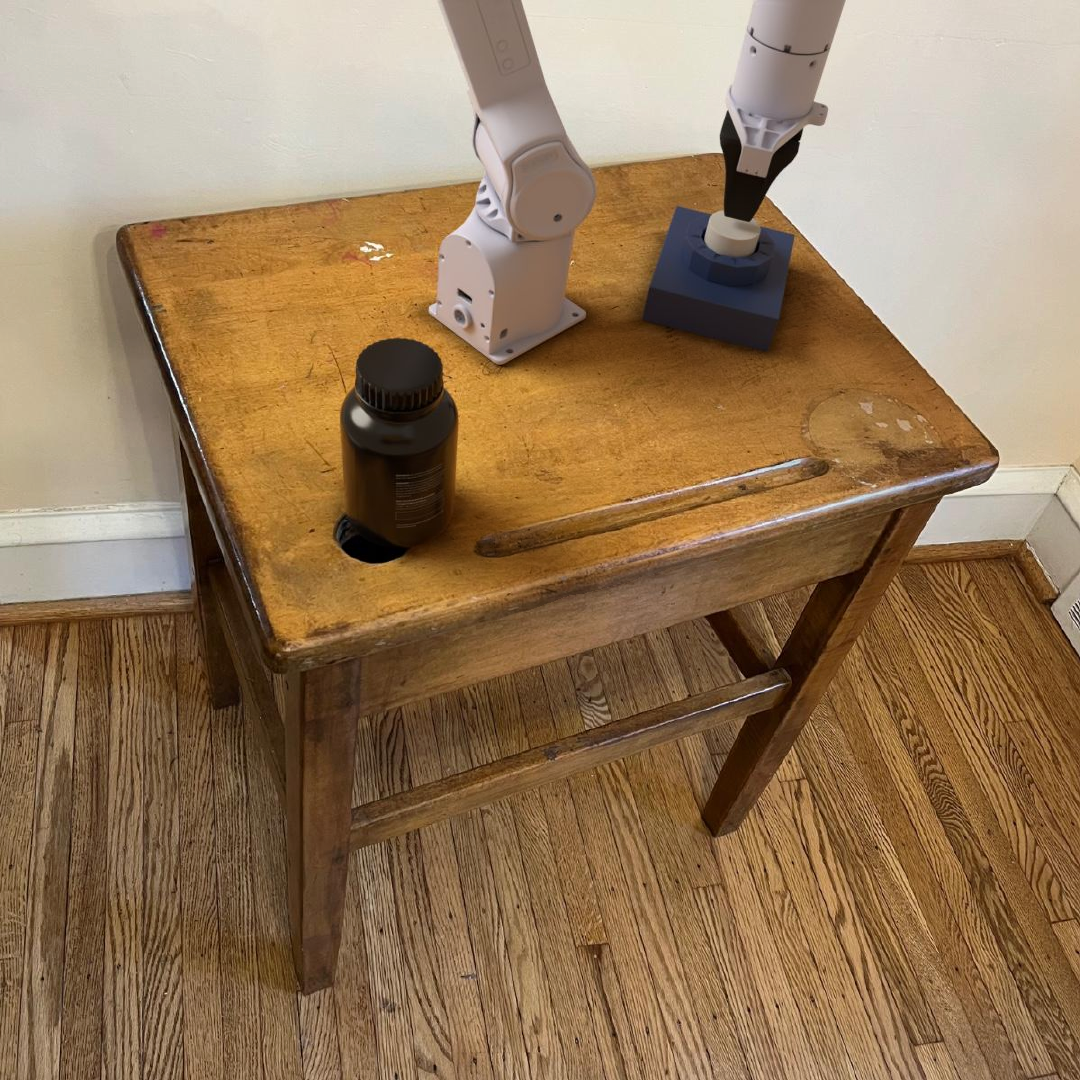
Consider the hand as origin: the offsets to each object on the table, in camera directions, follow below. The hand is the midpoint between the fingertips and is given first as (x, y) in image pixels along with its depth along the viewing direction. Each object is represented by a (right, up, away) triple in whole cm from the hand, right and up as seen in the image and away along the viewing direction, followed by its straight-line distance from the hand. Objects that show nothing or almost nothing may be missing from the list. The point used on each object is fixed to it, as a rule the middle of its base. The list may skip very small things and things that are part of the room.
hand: (738, 214), depth 81 cm
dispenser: (-1, -5, +5) cm, 7 cm away
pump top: (0, -2, +2) cm, 3 cm away
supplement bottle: (-24, -23, -14) cm, 36 cm away
